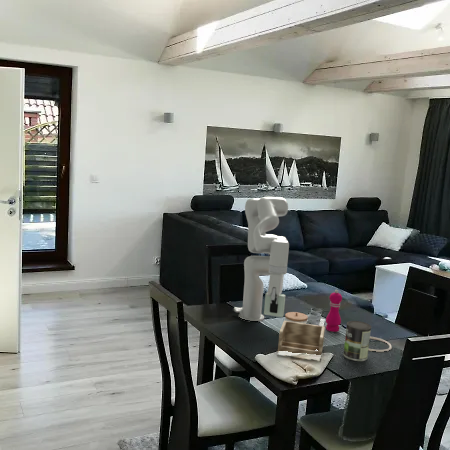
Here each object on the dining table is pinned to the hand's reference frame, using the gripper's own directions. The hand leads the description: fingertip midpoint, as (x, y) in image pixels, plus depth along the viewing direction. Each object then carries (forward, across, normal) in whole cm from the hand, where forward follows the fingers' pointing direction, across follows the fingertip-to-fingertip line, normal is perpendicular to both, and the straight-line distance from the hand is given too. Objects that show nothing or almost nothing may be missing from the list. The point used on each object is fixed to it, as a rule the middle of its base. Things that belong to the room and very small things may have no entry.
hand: (274, 310), depth 233 cm
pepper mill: (+18, -38, +24) cm, 48 cm away
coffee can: (+18, -8, +35) cm, 40 cm away
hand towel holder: (+18, -26, +41) cm, 52 cm away
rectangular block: (+2, 0, 0) cm, 2 cm away
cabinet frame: (+17, -3, +12) cm, 22 cm away
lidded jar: (+18, -27, +7) cm, 33 cm away
